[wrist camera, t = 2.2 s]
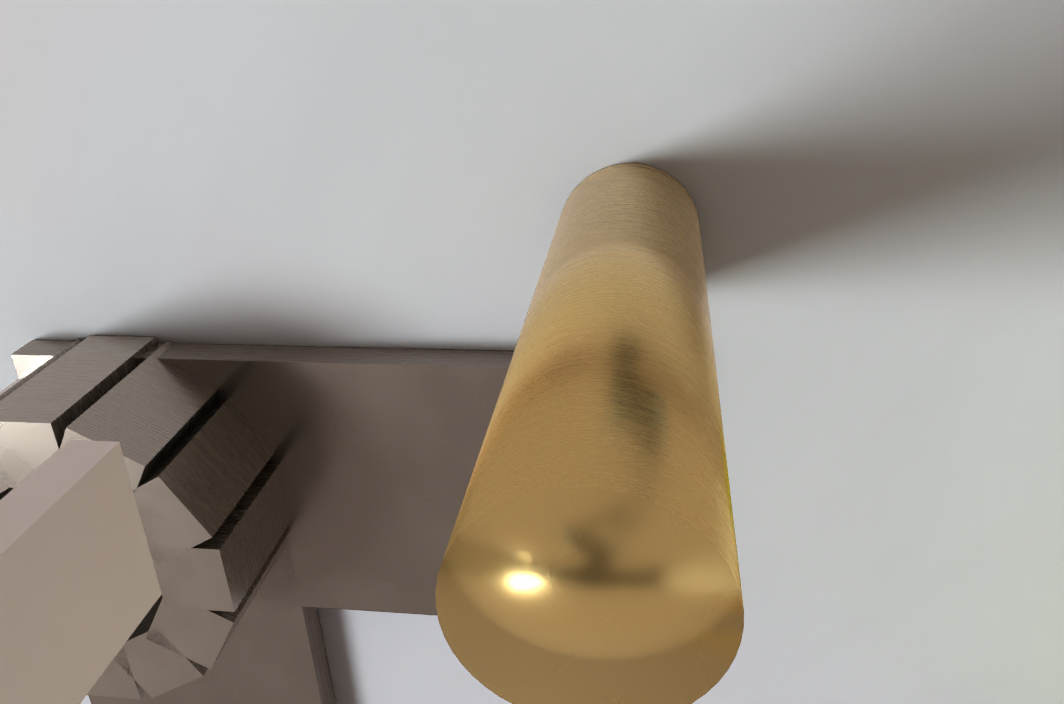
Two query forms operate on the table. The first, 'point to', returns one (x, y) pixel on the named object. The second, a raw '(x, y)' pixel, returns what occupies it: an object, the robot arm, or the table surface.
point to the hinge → (261, 492)
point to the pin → (603, 472)
